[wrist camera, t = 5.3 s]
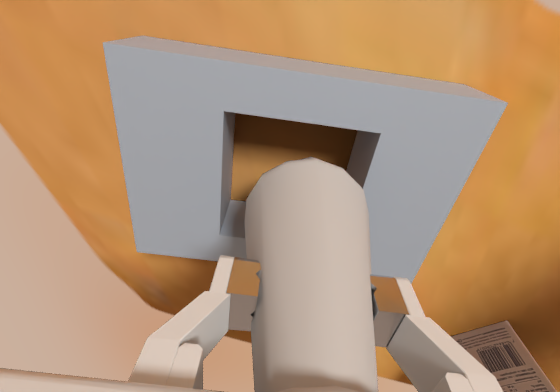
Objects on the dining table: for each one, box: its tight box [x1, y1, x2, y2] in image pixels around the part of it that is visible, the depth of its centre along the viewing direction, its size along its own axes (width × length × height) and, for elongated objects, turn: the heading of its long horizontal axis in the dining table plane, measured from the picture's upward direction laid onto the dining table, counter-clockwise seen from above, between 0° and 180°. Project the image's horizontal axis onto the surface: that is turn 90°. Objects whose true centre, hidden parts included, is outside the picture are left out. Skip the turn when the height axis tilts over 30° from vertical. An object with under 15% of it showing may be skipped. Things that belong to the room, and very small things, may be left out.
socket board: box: [103, 36, 508, 283], centre depth 18 cm, size 18×12×4 cm, turn 82°
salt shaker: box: [245, 157, 378, 392], centre depth 11 cm, size 6×6×13 cm
